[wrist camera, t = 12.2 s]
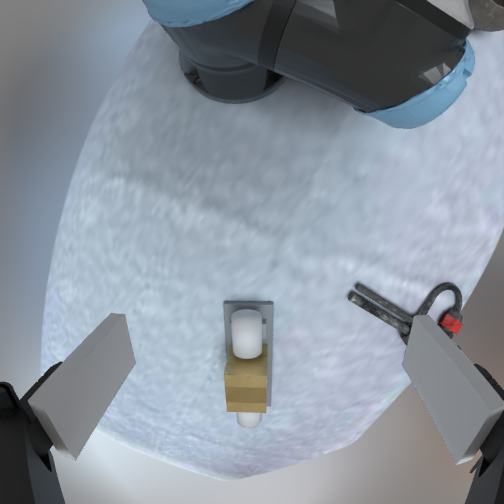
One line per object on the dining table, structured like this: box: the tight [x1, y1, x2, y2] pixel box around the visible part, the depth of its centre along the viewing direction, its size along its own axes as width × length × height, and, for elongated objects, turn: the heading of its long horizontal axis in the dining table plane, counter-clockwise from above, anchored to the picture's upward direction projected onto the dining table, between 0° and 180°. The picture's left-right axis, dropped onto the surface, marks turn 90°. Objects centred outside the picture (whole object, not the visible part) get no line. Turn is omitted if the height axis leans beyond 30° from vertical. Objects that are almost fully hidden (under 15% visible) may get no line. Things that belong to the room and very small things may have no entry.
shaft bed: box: [224, 301, 273, 428], centre depth 43 cm, size 20×7×6 cm, turn 1°
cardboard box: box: [224, 343, 268, 413], centre depth 41 cm, size 7×6×8 cm
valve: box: [348, 283, 462, 350], centre depth 41 cm, size 6×26×15 cm
